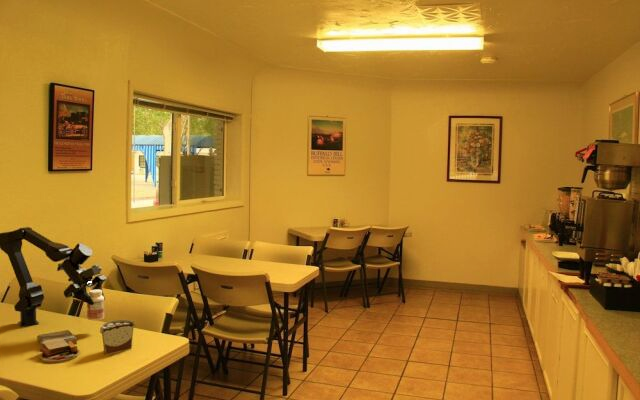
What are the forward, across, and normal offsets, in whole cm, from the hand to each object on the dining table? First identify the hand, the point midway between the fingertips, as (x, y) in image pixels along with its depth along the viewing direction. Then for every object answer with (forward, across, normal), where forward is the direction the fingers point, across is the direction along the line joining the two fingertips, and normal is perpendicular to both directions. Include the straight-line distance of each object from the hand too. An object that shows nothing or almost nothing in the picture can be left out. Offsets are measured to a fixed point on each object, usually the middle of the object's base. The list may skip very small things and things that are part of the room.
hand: (98, 302), depth 205 cm
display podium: (+4, -14, +13) cm, 20 cm away
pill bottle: (+4, 0, +6) cm, 7 cm away
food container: (+21, -14, -4) cm, 25 cm away
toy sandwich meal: (+11, -25, +7) cm, 28 cm away
